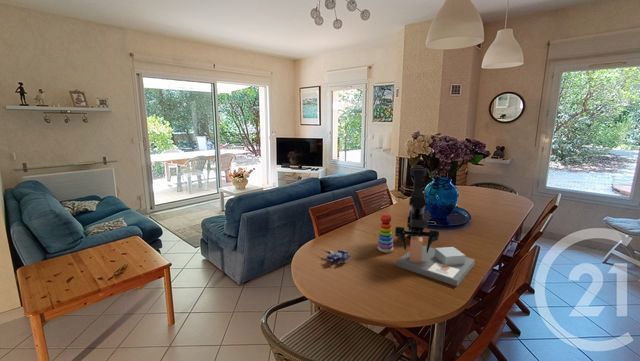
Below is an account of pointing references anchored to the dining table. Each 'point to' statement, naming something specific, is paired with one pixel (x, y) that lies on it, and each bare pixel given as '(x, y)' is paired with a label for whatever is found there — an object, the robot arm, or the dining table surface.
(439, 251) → the base block
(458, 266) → the board
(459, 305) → the dining table surface
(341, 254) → the toy airplane
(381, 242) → the stacking toy
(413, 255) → the pillar block
